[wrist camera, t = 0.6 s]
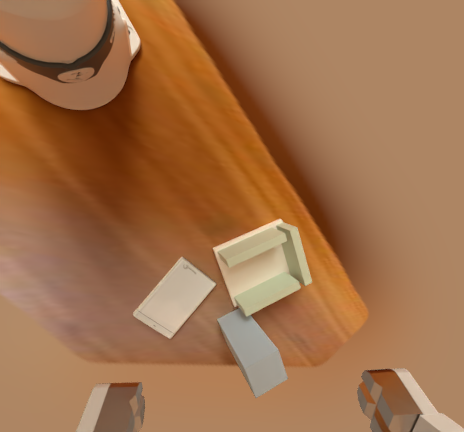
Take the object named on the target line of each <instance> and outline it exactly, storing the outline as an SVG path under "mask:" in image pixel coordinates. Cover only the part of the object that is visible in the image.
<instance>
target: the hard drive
mask: <svg viewBox="0 0 464 432" xmlns="http://www.w3.org/2000/svg"><path fill="white" fill-rule="evenodd" d="M215 286H216V282H214V281H213V280H212V279H211V278H209V277H208V276H207V275H205V274H204V273H203V272H202V271H200V270H199V269H198V268H196V267H195V266H194V265H193V264H191V263H190V262H189V261H187V260H186V259H185V258H184V257H181V258H180V259H179V260H178V261H177V262H176V264H175V265H174V266H173V267H172V268H171V269H170V271H169V272H168V273H167V274H166V275H165V276H164V278H163V279H162V280H161V281H160V282H159V283H158V285H157V286H156V287H155V288H154V289H153V290H152V292H151V293H150V294H149V295H148V296H147V297H146V299H145V300H144V301H143V302H142V303H141V304H140V306H139V307H138V308H137V309H136V310H135V311H134V313H133V316H134V317H136V318H137V319H139V320H140V321H142V322H143V323H145V324H147V325H148V326H150V327H151V328H153V329H154V330H156V331H158V332H159V333H161V334H162V335H164V336H166V337H167V338H169V339H171V338H172V337H173V336H174V334H175V333H176V332H177V331H178V330H179V328H180V327H181V326H182V325H183V324H184V323H185V321H186V320H187V319H188V318H189V317H190V315H191V314H192V313H193V312H194V311H195V310H196V308H197V307H198V306H199V305H200V304H201V302H202V301H203V300H204V299H205V298H206V296H207V295H208V294H209V293H210V292H211V290H212V289H213V288H214V287H215Z"/></svg>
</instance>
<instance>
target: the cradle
mask: <svg viewBox="0 0 464 432" xmlns="http://www.w3.org/2000/svg"><path fill="white" fill-rule="evenodd" d="M212 249H213V251H214V254H215V257H216V260H217V262H218V265H219V268H220V271H221V273H222V276H223V279H224V281H225V284H226V287H227V290H228V292H229V295H230V298H231V301H232V303H233V305H234V307H236V306H239V308H240V309H241V310H242V312H243V313H244V314H245V315H246V317H247V316H249V315H251V314H253V313H255V312H257V311H259V310H261V309H262V308H264V307H266V306H268V305H270V304H272V303H274V302H276V301H278V300H280V299H282V298H283V297H285V296H287V295H289V294H291V293H293V292H295V291H297V290H299V289H301V287H300V284H299V282H300V283H302V284H303V285H305V286H306V285H308V284H310V283H312V280H311V276H310V272H309V269H308V265H307V261H306V257H305V254H304V250H303V246H302V243H301V239H300V235H299V232H298V228H297V227H295V226H292V225H289V224H287V223H284V222H283V221H282V220H281V219H278V220H276V221H273V222H271V223H269V224H267V225H264V226H262V227H260V228H258V229H255V230H253V231H251V232H248V233H246V234H244V235H242V236H239V237H237V238H235V239H232V240H230V241H228V242H226V243H223V244H221V245H219V246H216V247H214V248H212Z"/></svg>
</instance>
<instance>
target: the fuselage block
mask: <svg viewBox="0 0 464 432" xmlns="http://www.w3.org/2000/svg"><path fill="white" fill-rule="evenodd" d="M217 320H218V323H219V326H220V328H221V331H222V333H223V336H224V338H225V341H226V343H227V345H228V347H229V349H230V351H231V353H232V354H233V356H234V358H235V360H236V362H237V364H238V366H239V368H240V369H241V371H242V373H243V375H244V377H245V379H246V380H247V382H248V384H249V386H250V388H251V390H252V392H253V394H254V396H255V397H256V398H257V397H259V396H260V395H262V394H264V393H265V392H267V391H268V390H270V389H272V388H273V387H275V386H277V385H278V384H280V383H282V382H283V381H285V380H287V379H288V377H287V375H286V371H285V368H284V365H283V362H282V359H281V356H280V353H279V350H278V349H277V347H276V346H275V345H274V344H273V342H272V341H271V340H270V339H269V337H268V336H267V335H266V334H265V333H264V331H263V330H262V329H261V328H260V326H259V325H258V324H257V323H256V321H255V320H254V319H253V318H252V316H251V315H249V316H247V317H246V315H245V314H244V313H243V312H242V310H241V309H240V308H238V309H236V310H234V311H232V312H230V313H228V314H226V315H224V316H222V317H220V318H218V319H217Z"/></svg>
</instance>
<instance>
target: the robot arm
mask: <svg viewBox="0 0 464 432" xmlns="http://www.w3.org/2000/svg"><path fill="white" fill-rule="evenodd" d="M129 33H130V35H129ZM140 46H141V43H140V39H139V36H138V34H137V33H136V31H135V29H134V27H133V26H132V24H131V22H130V20H129V18H128V17H127V15H126V13H125V11H124V10H123V8H122V6H121V4H120V2H119V1H118V0H0V77H1V78H3V79H5V80H7V81H9V82H12V83H15V84H19V85H22V86H25V87H27V88H29V89H30V90H32V91H33V92H35V93H36V94H37V95H39V96H40V97H42V98H43V99H45V100H46V101H48V102H50V103H52V104H55V105H57V106H60V107H63V108H67V109H73V110H89V109H94V108H97V107H100V106H103V105H105V104H107V103H108V102H110V101H111V100H112V99H114V98H115V97H116V96H117V95H118V93H119V92H120V91H121V89H122V88H123V86H124V84H125V81H126V78H127V74H128V70H129V65H130V62H131V61H132V59H133V58H134V57H135V56H136V54H137V53H138V51H139V49H140ZM361 377H362V379H363V382H362V383H361V384H360V385H359V387H358V392H357V393H358V400H359V403H360V407H361V409H362V411H363V413H364V414H365V415H366V416H367V417H368V418H369V419H370V420H371V424H370V428H371V430H372V432H464V429H463V428H462V427H461V426H459V425H458V424H457V423H455V422H454V421H452V420H451V419H450V418H448V417H447V416H445V415H444V414H443V413H442V414H439V413H438V412H437V410H436V409H435V408H434V406H433V405H432V403H431V402H430V401H429V399H428V398H427V397H426V395H425V394H424V392H423V391H422V389H421V388H420V387H419V385H418V384H417V382H416V381H415V380H414V378H413V377H412V375H411V374H410V373H409V371H407V370H406V369H404V368H400V369H379V370H365V371H364V372H363V373H362V376H361ZM141 393H142V383H141V382H133V383H103V384H96V385H95V387H94V388H93V390H92V392H91V395H90V397H89V400H88V402H87V405H86V407H85V410H84V412H83V415H82V417H81V420H80V423H79V425H78V428H77V430H76V432H139V430H140V429H141V428H142V424H143V419H144V409H145V400H144V396H142V395H141Z"/></svg>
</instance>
